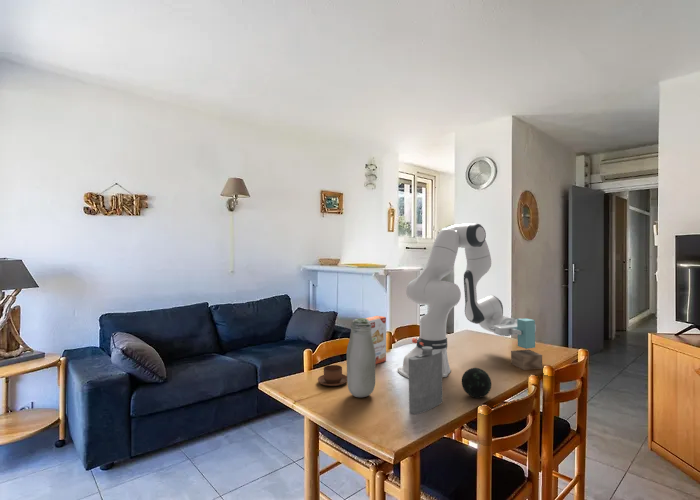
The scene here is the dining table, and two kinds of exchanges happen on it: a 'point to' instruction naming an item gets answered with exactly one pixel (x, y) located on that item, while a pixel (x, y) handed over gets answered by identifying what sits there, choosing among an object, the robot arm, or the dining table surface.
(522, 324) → the teal block
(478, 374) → the decorative stone
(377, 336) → the cracker box
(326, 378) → the cup and saucer
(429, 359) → the hip flask
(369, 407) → the dining table surface
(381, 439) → the dining table surface
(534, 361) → the walnut base
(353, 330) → the glass bottle
